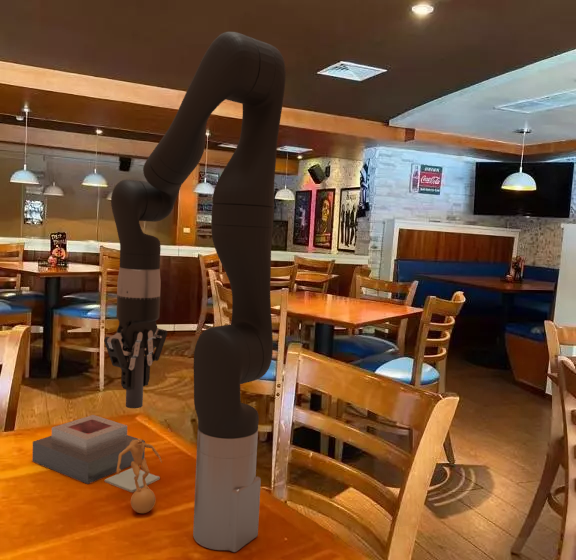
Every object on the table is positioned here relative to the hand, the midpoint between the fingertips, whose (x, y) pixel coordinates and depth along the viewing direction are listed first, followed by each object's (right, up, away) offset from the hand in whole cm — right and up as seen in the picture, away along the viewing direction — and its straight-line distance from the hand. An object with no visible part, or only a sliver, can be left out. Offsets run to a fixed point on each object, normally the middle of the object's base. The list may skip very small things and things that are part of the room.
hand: (135, 386), depth 108 cm
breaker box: (-12, -16, +9) cm, 22 cm away
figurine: (+3, -19, -9) cm, 21 cm away
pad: (-1, -18, +2) cm, 18 cm away
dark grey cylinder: (0, -4, 0) cm, 4 cm away
